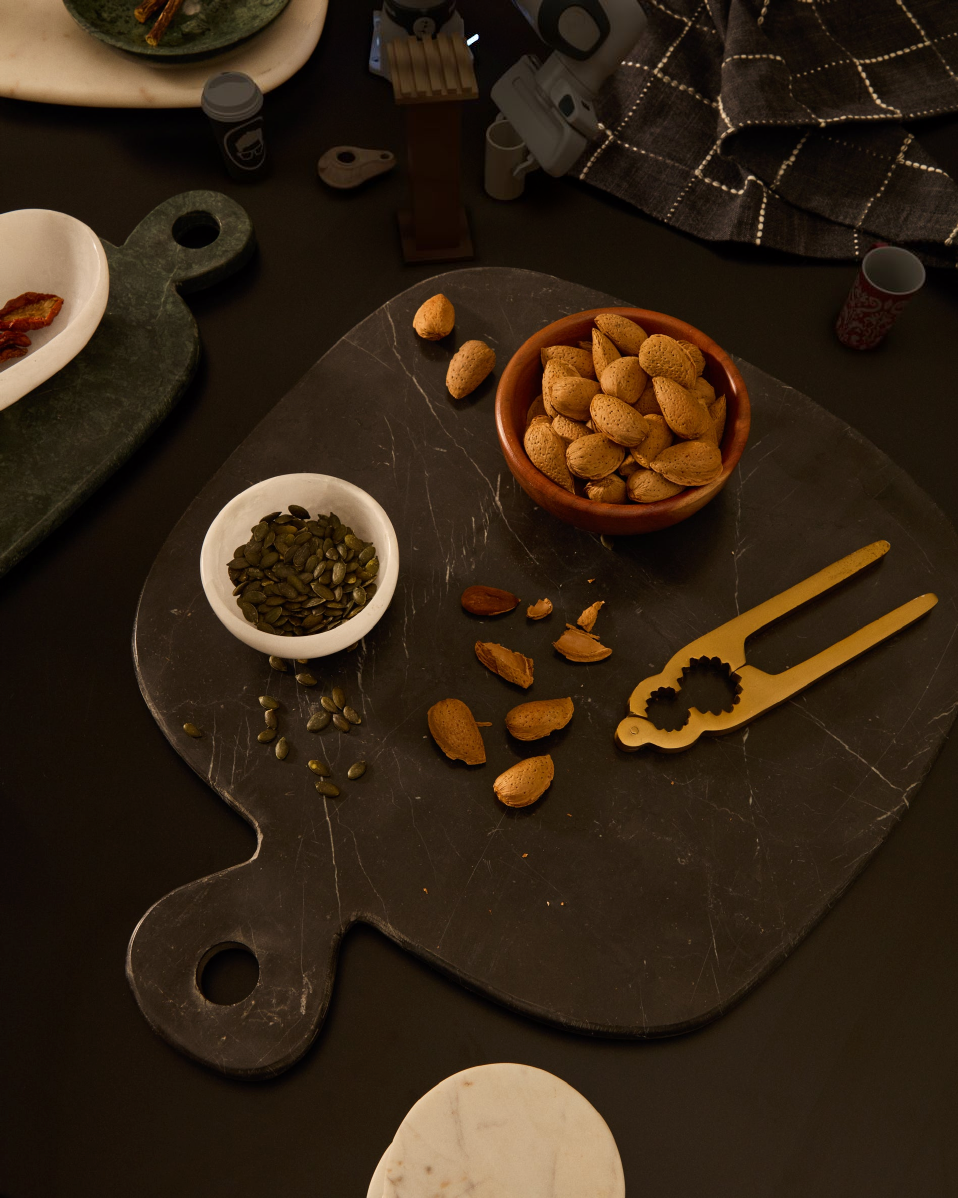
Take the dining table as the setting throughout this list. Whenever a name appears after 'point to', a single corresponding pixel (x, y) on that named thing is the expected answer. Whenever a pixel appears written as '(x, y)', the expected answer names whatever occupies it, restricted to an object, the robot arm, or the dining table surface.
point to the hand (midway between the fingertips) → (502, 159)
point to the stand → (434, 186)
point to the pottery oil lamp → (353, 166)
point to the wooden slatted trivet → (431, 69)
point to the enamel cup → (503, 161)
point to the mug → (878, 295)
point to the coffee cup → (237, 123)
